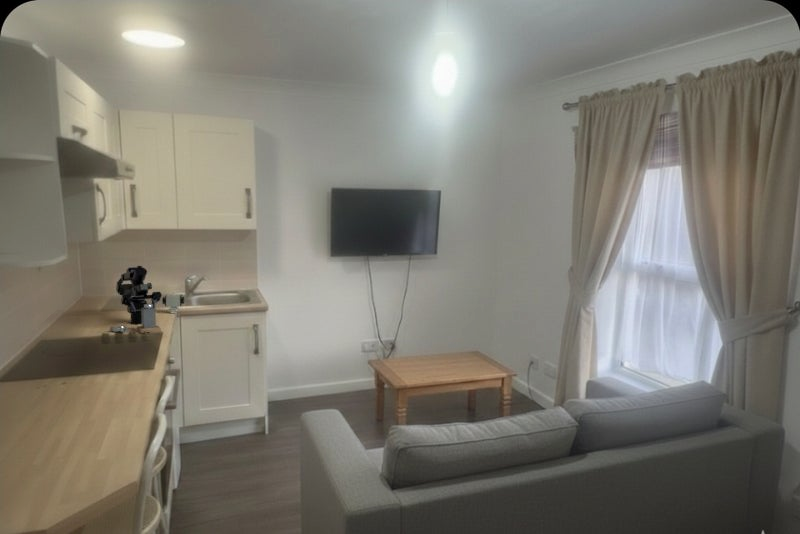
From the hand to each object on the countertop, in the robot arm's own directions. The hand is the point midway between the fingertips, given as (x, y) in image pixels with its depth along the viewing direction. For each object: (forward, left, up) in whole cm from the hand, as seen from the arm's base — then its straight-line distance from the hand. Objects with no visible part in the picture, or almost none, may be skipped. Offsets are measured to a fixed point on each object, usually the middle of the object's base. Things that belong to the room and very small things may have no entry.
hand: (144, 311), depth 266 cm
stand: (+6, -2, -9) cm, 11 cm away
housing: (+6, -2, -7) cm, 9 cm away
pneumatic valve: (-19, +34, -10) cm, 40 cm away
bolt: (-5, -12, -9) cm, 16 cm away
